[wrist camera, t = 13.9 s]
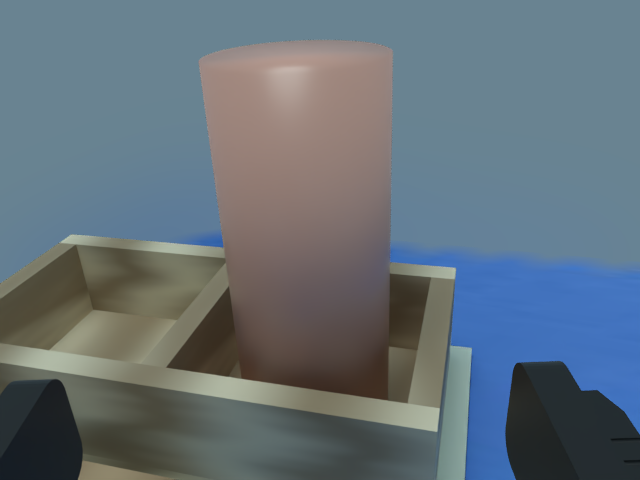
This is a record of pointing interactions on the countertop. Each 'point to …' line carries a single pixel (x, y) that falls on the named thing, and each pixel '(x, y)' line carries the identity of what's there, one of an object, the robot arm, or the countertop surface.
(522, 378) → the robot arm
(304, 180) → the pink cylinder
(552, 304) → the countertop surface
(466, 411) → the mat
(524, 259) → the countertop surface
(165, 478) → the board
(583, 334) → the countertop surface
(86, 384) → the caddy
